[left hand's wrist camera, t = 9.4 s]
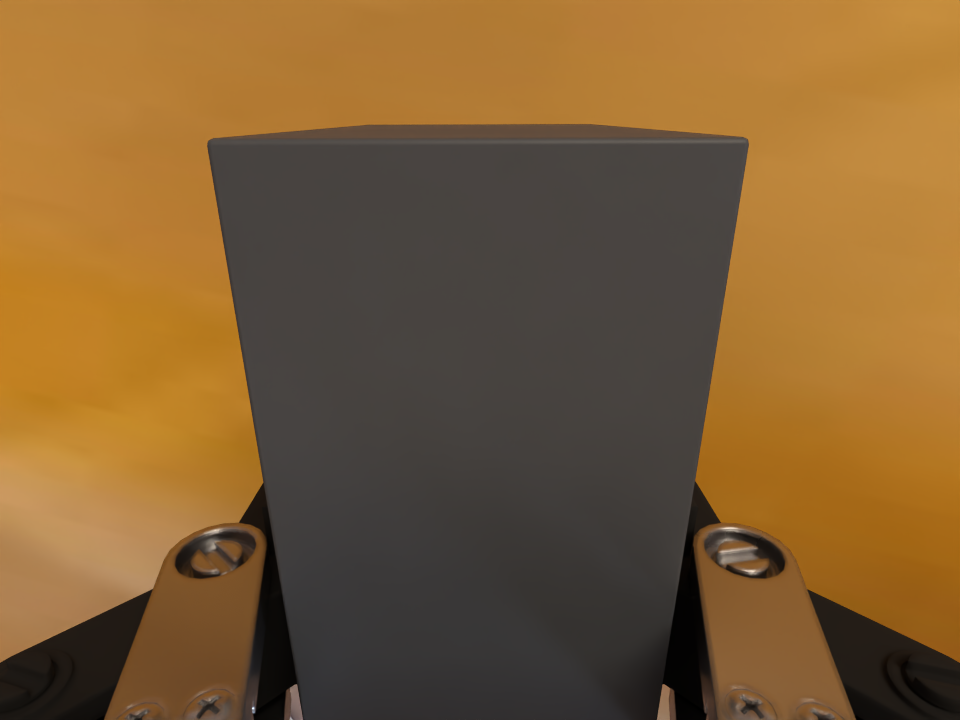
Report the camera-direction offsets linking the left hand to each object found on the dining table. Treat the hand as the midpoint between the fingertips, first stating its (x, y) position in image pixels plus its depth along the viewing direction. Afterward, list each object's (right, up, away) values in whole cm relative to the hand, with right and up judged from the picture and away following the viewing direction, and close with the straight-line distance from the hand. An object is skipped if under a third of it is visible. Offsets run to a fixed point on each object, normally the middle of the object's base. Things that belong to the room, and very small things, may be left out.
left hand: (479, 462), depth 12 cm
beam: (0, -25, +13) cm, 28 cm away
